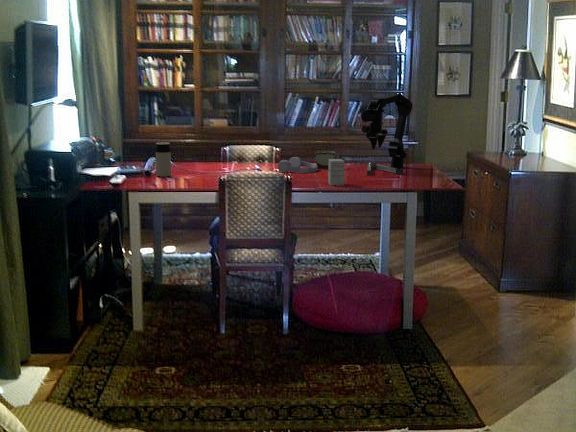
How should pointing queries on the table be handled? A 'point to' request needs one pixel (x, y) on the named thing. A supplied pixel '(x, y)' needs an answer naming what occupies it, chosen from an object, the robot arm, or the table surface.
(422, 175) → the table surface
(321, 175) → the table surface
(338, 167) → the supplement box
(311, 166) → the headphones
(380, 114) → the robot arm
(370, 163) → the tongs base
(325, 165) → the food container
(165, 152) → the travel mug
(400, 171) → the tongs arm
